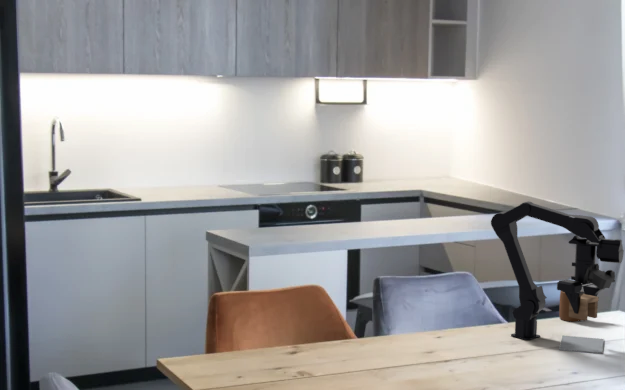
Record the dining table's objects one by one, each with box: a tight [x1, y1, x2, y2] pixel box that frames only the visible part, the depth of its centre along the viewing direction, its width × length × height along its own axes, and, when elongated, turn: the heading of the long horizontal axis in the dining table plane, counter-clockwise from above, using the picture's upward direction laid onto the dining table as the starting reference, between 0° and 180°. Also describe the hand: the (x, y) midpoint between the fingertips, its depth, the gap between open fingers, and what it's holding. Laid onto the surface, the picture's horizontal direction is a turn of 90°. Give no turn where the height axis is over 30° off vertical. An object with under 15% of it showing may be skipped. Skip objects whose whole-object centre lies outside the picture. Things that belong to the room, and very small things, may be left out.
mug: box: [558, 290, 584, 323], centre depth 305 cm, size 12×8×9 cm, turn 83°
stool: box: [569, 294, 599, 321], centre depth 273 cm, size 6×6×6 cm
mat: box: [558, 334, 605, 355], centre depth 274 cm, size 16×12×1 cm
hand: (582, 311), depth 273 cm, fingers closed on stool, 6 cm apart
